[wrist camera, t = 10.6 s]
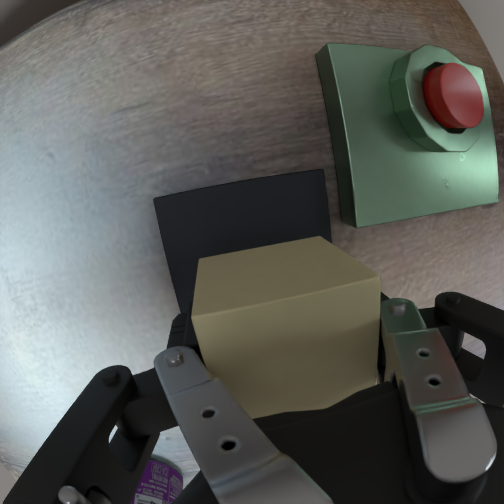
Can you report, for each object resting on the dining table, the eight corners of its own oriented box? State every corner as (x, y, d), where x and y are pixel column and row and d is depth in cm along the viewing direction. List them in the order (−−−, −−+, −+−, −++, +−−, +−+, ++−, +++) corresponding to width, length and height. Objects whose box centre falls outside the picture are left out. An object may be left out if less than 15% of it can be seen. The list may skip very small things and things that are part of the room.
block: (320, 235, 12) (381, 275, 7) (327, 337, 14) (373, 406, 9) (198, 258, 12) (190, 316, 7) (223, 360, 13) (231, 443, 8)
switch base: (464, 71, 17) (497, 64, 13) (481, 198, 20) (514, 205, 16) (314, 54, 16) (338, 30, 12) (341, 222, 19) (371, 235, 15)
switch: (459, 72, 13) (476, 68, 12) (470, 130, 14) (488, 129, 13) (415, 64, 13) (433, 57, 11) (428, 128, 14) (447, 126, 12)
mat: (320, 169, 18) (323, 169, 17) (334, 315, 20) (337, 319, 20) (154, 198, 17) (152, 199, 16) (192, 345, 20) (191, 350, 19)
